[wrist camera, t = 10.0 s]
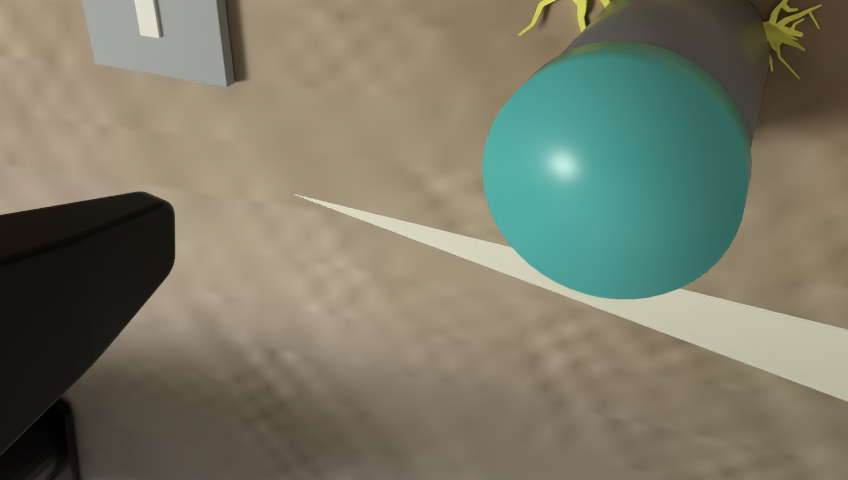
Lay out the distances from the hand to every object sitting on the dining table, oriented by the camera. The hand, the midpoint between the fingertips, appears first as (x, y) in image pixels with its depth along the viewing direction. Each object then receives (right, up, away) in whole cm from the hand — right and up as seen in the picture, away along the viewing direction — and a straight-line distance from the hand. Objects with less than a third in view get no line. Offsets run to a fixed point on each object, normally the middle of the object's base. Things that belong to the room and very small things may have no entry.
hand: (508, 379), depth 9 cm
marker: (+5, +6, +10) cm, 12 cm away
